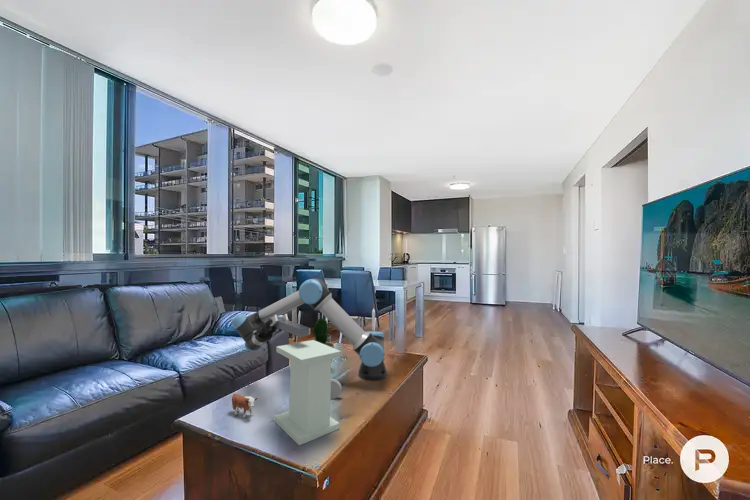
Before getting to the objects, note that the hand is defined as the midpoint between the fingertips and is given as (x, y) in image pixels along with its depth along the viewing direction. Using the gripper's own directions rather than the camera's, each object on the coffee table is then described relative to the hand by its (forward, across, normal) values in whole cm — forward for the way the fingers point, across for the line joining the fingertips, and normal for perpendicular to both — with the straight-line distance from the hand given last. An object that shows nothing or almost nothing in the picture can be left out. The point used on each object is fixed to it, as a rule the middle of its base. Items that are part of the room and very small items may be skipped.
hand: (281, 317), depth 133 cm
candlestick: (-33, -69, -23) cm, 80 cm away
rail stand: (+2, 0, -43) cm, 43 cm away
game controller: (-13, -16, -35) cm, 41 cm away
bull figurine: (-17, +15, -33) cm, 40 cm away
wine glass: (-49, -44, -14) cm, 67 cm away
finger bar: (+3, 0, -6) cm, 7 cm away
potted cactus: (-35, -32, -22) cm, 52 cm away
